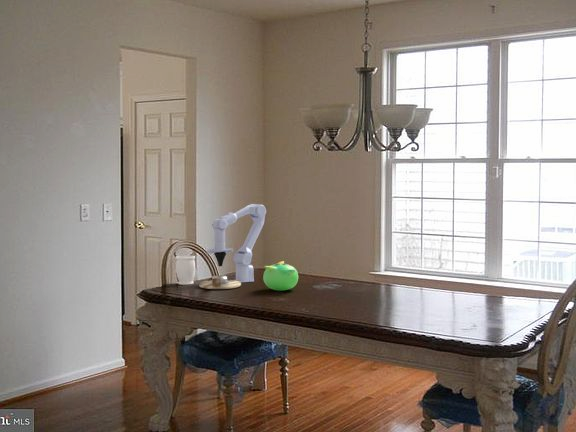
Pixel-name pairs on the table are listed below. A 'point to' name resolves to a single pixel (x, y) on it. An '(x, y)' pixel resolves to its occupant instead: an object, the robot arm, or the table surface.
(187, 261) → the jar
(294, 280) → the green tomato
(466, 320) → the table surface
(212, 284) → the disc
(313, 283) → the table surface
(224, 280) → the cover
